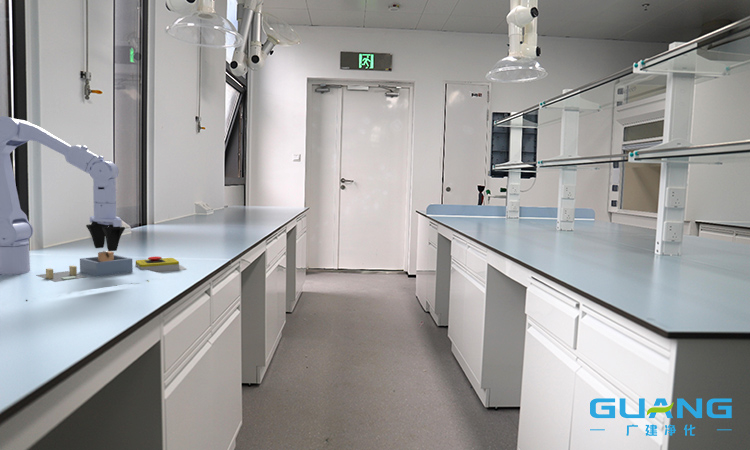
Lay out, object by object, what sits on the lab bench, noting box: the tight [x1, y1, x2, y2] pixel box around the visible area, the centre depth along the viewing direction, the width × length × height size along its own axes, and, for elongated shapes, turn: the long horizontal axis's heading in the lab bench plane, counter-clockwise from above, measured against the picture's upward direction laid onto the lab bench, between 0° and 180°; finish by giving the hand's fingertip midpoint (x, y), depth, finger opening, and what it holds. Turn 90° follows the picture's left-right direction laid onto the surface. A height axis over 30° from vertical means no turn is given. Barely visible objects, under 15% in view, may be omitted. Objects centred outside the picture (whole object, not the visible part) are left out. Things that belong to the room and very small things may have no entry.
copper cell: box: [97, 250, 115, 262], centre depth 137 cm, size 4×4×6 cm
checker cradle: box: [35, 265, 87, 283], centre depth 130 cm, size 12×8×4 cm, turn 56°
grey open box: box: [79, 254, 134, 277], centre depth 138 cm, size 10×10×5 cm
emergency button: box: [135, 256, 187, 273], centre depth 149 cm, size 9×4×15 cm
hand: (105, 249), depth 137 cm, fingers open, 7 cm apart
